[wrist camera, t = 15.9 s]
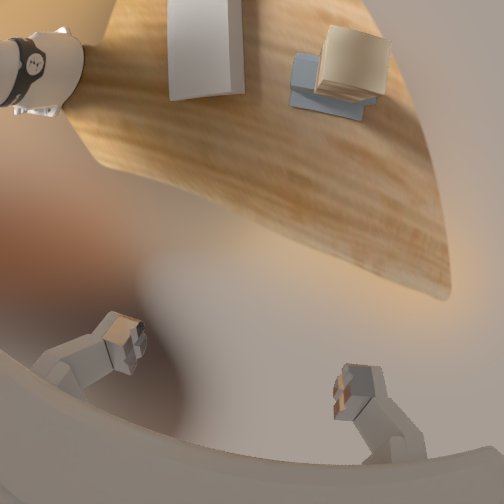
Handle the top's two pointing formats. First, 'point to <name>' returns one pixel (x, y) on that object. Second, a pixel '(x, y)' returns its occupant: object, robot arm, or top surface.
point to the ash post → (352, 65)
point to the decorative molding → (205, 48)
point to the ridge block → (306, 98)
